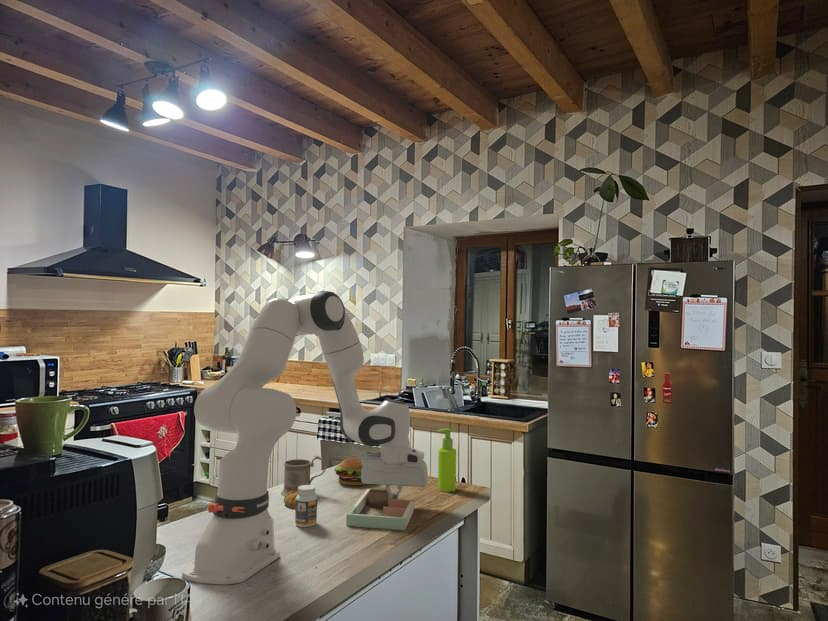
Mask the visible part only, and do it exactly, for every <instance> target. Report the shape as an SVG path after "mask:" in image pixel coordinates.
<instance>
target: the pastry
mask: <svg viewBox="0 0 828 621" xmlns="http://www.w3.org/2000/svg"><path fill="white" fill-rule="evenodd" d="M297 495H299V493H298V492H297V491H290V492H289V493H287V495H286V496H284V498H283V503H284V504H285V506H287V507H288V508H289V509H290V508H291V509H295V510H296V497H297Z"/></svg>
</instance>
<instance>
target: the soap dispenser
mask: <svg viewBox="0 0 828 621" xmlns="http://www.w3.org/2000/svg"><path fill="white" fill-rule="evenodd" d="M453 431H454V430H453V429H452V428H439V429H437V430H436V432H437V433H439V434H440V433H443V432H444V434H445V436H444V438H442V445H441V446H442V447H441V448H438V456H437V458H438V462H437V463H438V464H437V490H438V491H439V492H442V491H444V493H452V492H451V491H453V492H455V491H456V490H457V489H456V488H457V485H456V484H457V482H456V481H457V479H456V477H457V476H456V475H457V449H456V448H453V445H454V443H453V438H451V433H452V432H453Z"/></svg>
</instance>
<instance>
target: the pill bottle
mask: <svg viewBox="0 0 828 621" xmlns="http://www.w3.org/2000/svg"><path fill="white" fill-rule="evenodd" d="M298 493H299V495H297V497H296V509H295V514H294V516H295V518H294V519H295V520H294V524H295V525H296V526H297V527H300V528H309V527H314V526H315V525H316V524H317V523H318V522H317V519H318V518H317V517H318V516H317V515H318V496H317V494H316V486H315V485H313V484H312V485H311V484H310V485H302V486H299V487H298Z"/></svg>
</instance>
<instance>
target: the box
mask: <svg viewBox="0 0 828 621" xmlns="http://www.w3.org/2000/svg"><path fill="white" fill-rule="evenodd" d="M370 489H371V488H366V490H365V491H364V492H363V494H362V495H361V496H360V497H359V499H358V500H357V501H356V502H355V503H354V505H352V508H350V509H349V511H348V512H347V514H346V518H345V519H346V522H345V523H346V526H347V527H359V528H369V529H370V528H371V529H372V528H373V529H383V530H396V531H405V530H406V528H407V527H408V524H409V523H410V520H411V519H412V515H413V514H414V511H415V499H401V498H399V499H389V500H388V505H387V507H382V515H374V514H362V513H361V512H362V510H363V509H364V508H365V507H366V505H368V499H369V491H370Z"/></svg>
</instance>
